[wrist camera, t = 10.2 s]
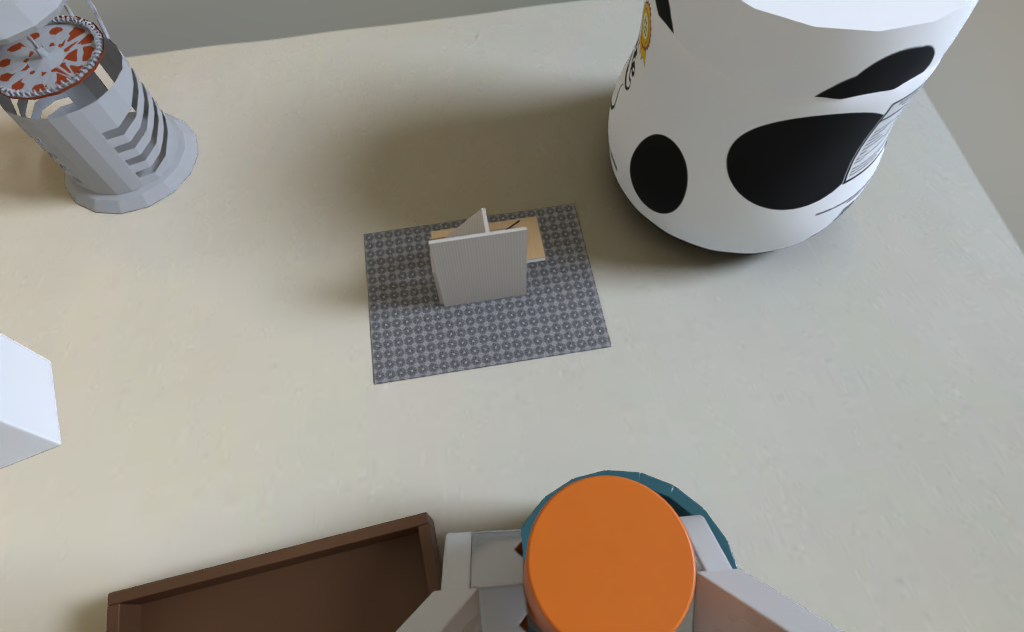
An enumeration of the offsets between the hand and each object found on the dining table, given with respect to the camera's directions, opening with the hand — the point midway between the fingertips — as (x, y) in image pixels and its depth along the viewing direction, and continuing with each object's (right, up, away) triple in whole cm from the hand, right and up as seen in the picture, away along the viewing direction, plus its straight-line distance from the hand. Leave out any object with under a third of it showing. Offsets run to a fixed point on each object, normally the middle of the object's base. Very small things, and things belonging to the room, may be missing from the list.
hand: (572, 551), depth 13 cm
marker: (0, -5, +9) cm, 11 cm away
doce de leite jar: (+14, +15, +33) cm, 39 cm away
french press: (-30, +17, +35) cm, 49 cm away
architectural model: (-3, +7, +29) cm, 30 cm away
